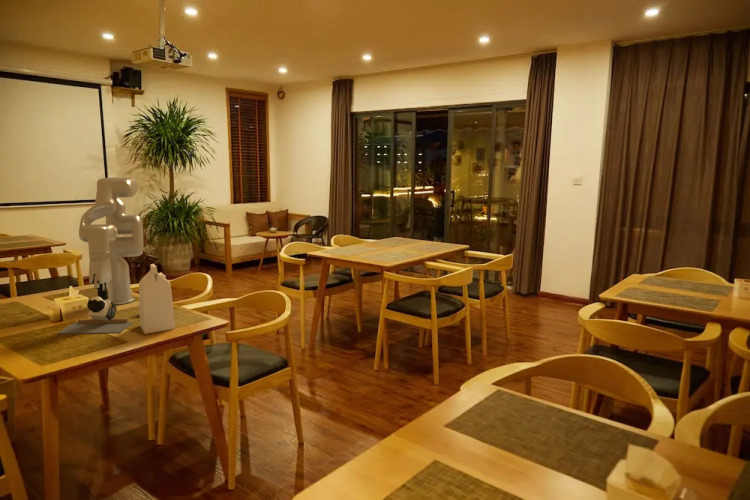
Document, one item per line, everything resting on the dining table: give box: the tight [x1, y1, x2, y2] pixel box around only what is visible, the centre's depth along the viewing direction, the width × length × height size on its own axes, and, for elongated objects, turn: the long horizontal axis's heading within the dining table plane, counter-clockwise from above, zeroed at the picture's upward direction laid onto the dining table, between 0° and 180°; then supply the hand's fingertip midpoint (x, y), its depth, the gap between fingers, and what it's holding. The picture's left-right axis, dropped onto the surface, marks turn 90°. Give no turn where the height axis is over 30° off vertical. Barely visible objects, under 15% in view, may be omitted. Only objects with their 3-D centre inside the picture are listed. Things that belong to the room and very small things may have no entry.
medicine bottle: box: [86, 296, 118, 321], centre depth 205 cm, size 7×7×12 cm
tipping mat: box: [56, 317, 134, 335], centre depth 200 cm, size 13×24×2 cm, turn 94°
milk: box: [138, 263, 176, 334], centre depth 201 cm, size 12×12×26 cm
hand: (103, 299), depth 206 cm, fingers closed
